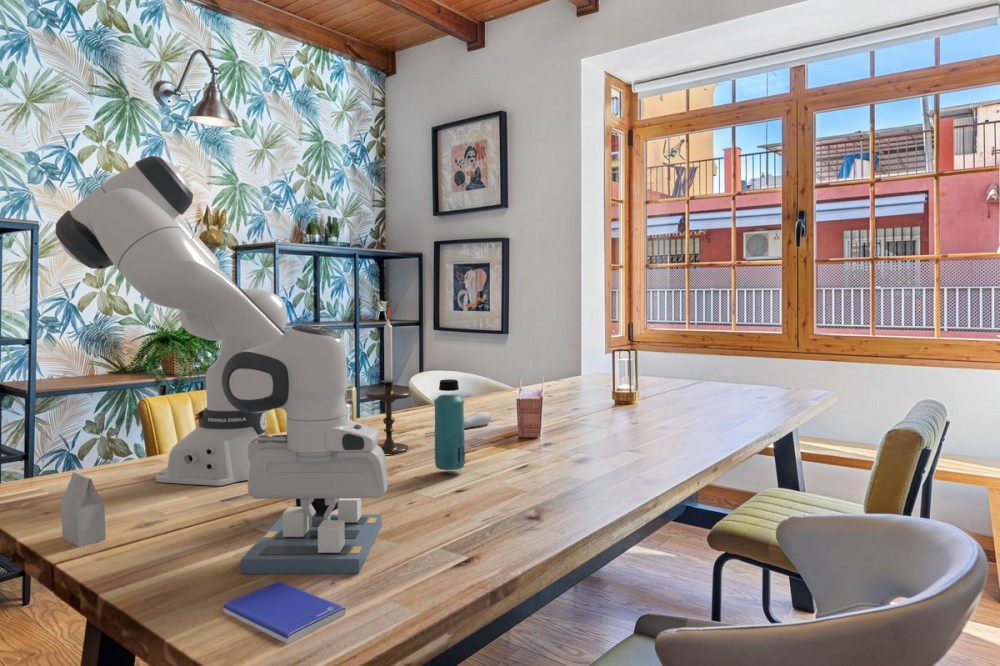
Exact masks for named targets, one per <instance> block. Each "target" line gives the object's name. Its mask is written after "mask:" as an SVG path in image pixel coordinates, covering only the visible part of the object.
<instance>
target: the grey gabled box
mask: <svg viewBox="0 0 1000 666" xmlns="http://www.w3.org/2000/svg"><path fill="white" fill-rule="evenodd" d="M60 506H61V508H60V509H61V530H62V531H61V532H62V533H61V534H62V538H63V537H64V538H63V539H65V540H66V539H67V540H66V541H68V542H69V541H70V542H69V543H71V542H72V543H73V544H72V543H71V544H72V545H74V544H75V545H76V547H77V546H78V547H80V548H82V547H81V546H83V547H86V546H85V545H87V546H90V545H89V544H91V545H94V544H93V543H95V544H97V543H96V542H98V543H101V542H100V541H102V542H104V541H103V540H107V539H106V537H107V536H106V518H105V517H106V516H105V515H106V514H105V511H106V510H105V501H103V499H102V497H101V496H100V494H99V492H98V491H97V489H96V488H95V485H94V483H93V480H92V478H90V477H88V476H86V475H84V474H81V473H79V472H77V471H72V474H71V477H70V480H69V483H68V485H67V488H66V489H65V491H64V494H63V495H62V497H61V499H60ZM75 545H74V546H75ZM78 547H77V548H78Z"/></svg>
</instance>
